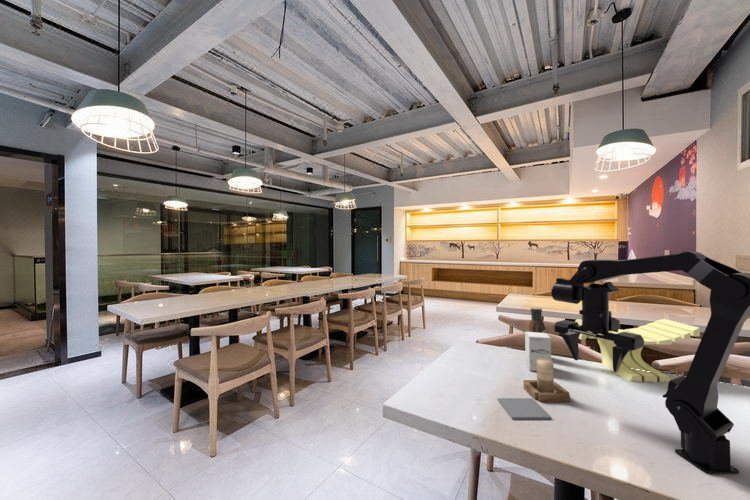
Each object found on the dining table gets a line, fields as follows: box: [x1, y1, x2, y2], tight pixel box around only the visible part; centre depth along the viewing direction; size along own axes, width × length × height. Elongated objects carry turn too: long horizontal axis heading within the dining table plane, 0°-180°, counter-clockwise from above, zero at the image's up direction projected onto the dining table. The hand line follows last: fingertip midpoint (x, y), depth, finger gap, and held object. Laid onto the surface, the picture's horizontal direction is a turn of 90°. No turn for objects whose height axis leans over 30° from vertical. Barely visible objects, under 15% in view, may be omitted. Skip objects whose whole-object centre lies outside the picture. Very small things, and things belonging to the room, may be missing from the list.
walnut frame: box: [523, 379, 571, 403], centre depth 91 cm, size 10×10×2 cm
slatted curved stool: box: [574, 318, 701, 383], centre depth 106 cm, size 30×16×18 cm, turn 85°
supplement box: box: [524, 331, 552, 372], centre depth 111 cm, size 7×7×13 cm
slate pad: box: [497, 397, 552, 420], centre depth 83 cm, size 10×10×1 cm
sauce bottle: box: [528, 307, 547, 334], centre depth 123 cm, size 6×6×20 cm
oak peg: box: [536, 358, 555, 393], centre depth 91 cm, size 4×4×10 cm
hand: (595, 365), depth 80 cm, fingers open, 9 cm apart
